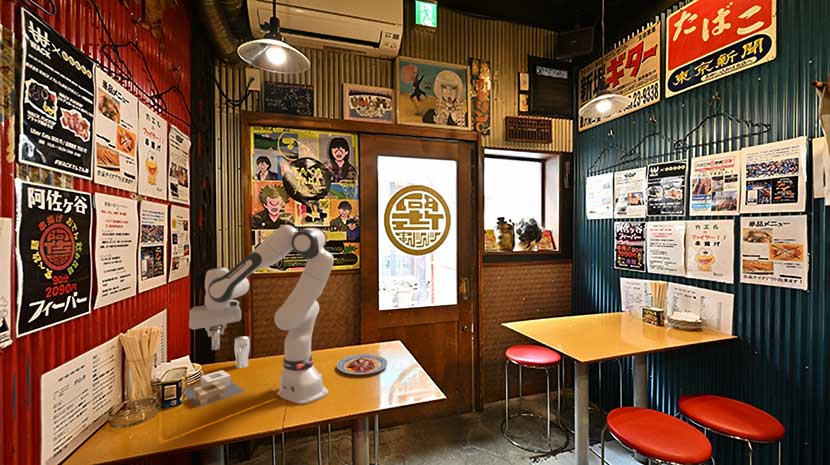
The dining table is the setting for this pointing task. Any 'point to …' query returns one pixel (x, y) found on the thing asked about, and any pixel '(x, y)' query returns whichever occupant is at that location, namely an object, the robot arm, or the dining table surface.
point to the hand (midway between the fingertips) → (215, 335)
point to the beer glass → (242, 351)
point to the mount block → (209, 392)
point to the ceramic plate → (361, 364)
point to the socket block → (216, 378)
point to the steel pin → (216, 337)
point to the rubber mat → (230, 391)
